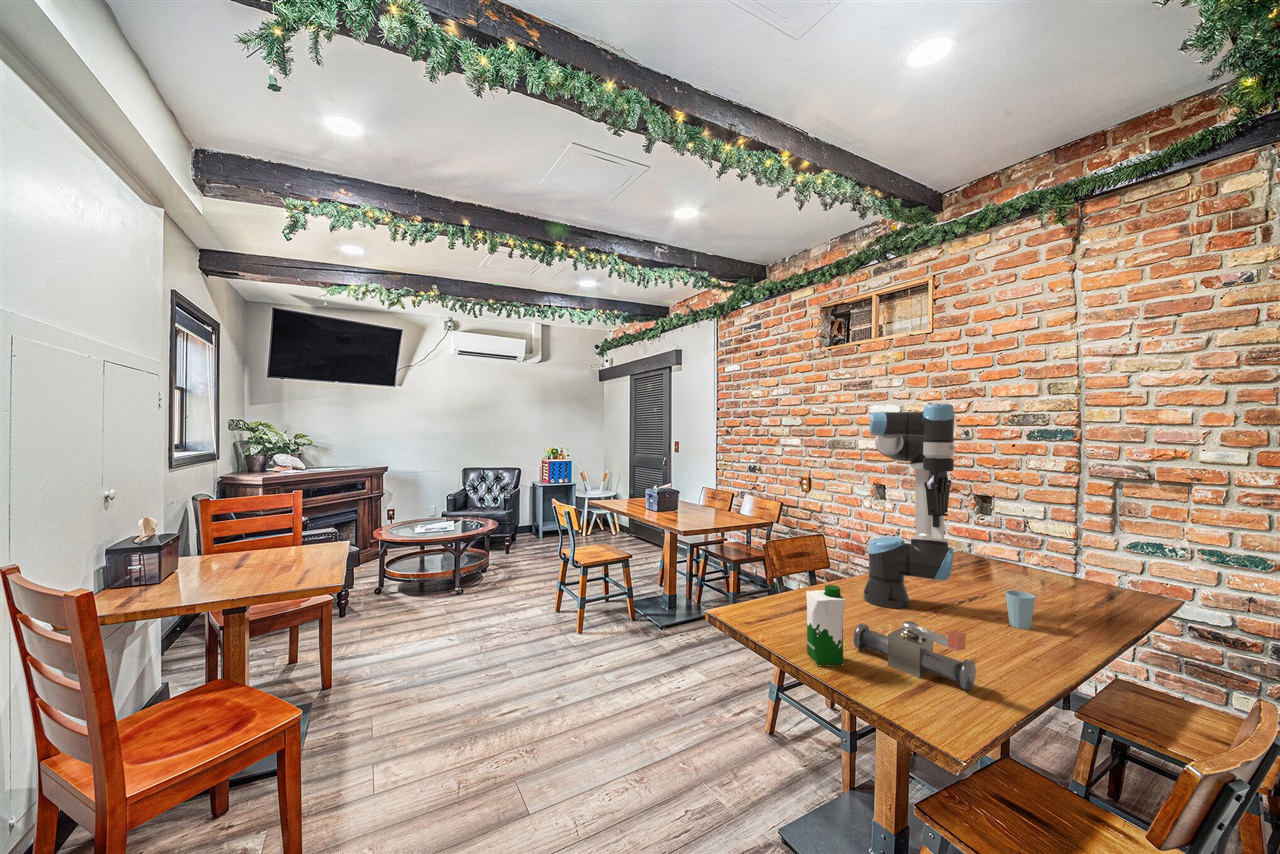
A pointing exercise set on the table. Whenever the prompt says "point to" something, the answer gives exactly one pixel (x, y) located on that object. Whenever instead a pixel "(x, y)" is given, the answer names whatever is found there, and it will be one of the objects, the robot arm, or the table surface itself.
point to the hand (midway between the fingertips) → (937, 538)
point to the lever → (938, 636)
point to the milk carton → (825, 625)
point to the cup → (1020, 608)
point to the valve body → (915, 655)
